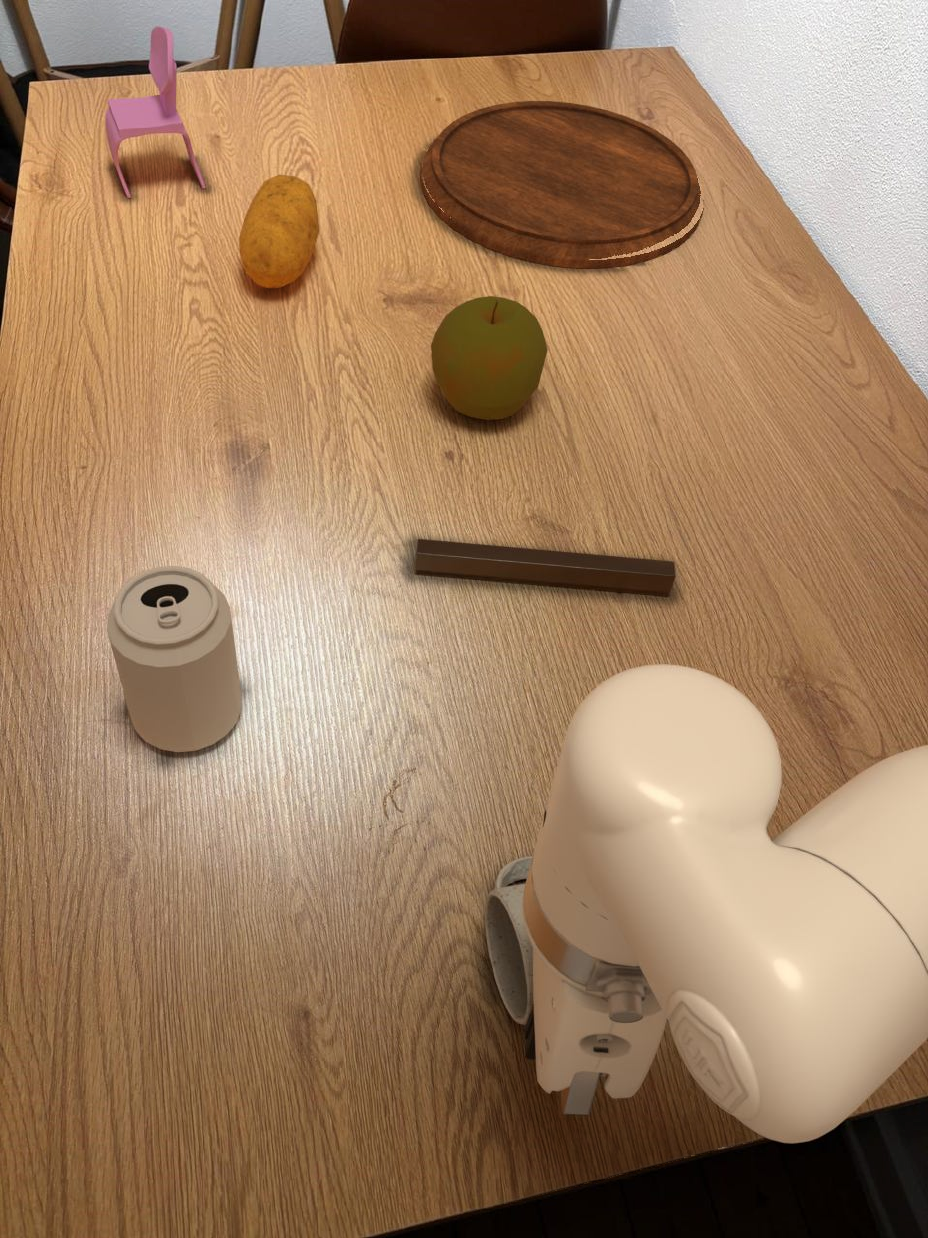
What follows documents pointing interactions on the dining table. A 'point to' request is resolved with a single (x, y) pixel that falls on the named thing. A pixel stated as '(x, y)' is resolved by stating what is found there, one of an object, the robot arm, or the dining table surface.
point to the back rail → (544, 567)
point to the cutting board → (561, 184)
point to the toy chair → (150, 105)
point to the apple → (488, 357)
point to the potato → (279, 231)
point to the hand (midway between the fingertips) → (553, 1046)
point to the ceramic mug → (510, 940)
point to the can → (176, 658)
